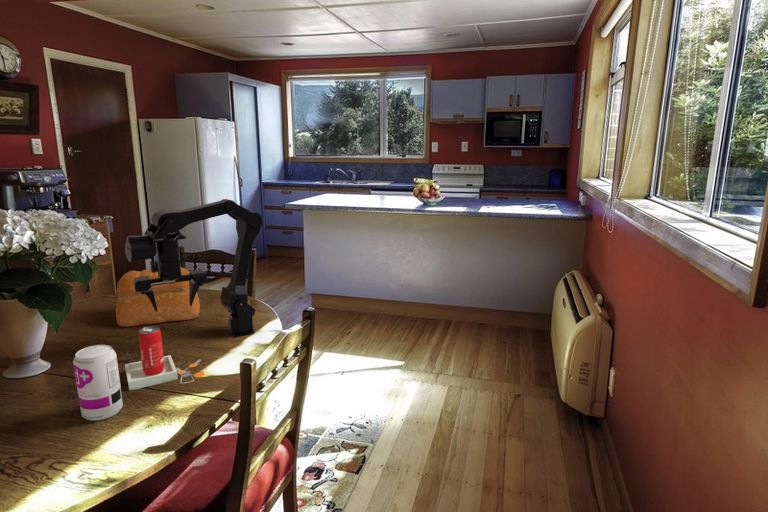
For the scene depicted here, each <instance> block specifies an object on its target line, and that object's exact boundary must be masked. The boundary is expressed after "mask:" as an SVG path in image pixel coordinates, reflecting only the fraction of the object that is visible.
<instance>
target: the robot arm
mask: <svg viewBox="0 0 768 512" xmlns="http://www.w3.org/2000/svg"><path fill="white" fill-rule="evenodd" d="M223 215H228V216H229V217H230V218H231V219H233V220H234V221H235V229H236V234H237V242H236V243H237V244H236V248H235V249H236V250H235V255H234V260H233V263H232V264H233V265H232V270H231V276H230V282H229V283H228V285H227V286H222V287H221V295H220V297H219V300H221V302H220V303H221V305H222V307H224V308H225V309H227V312H228V313H230V314H229V316H230V318H229V319H228V329H229V332H230V334H232V335H233V337H235V338H236V337H241V336H246V335H251V334H255V333H256V331H255V330H254V325H253V324H254V323H253V320H254V319H253V317H254V316H255V312H256V309H255V308H254V307H253V306H252V305H250V304H249V299H248V298H249V295H248V289H247V279H248V273H249V268H250V262H251V258H252V252H253V248H254V242H255V240H256V239H257V237H258V236H259V234H260V232H261V230H262V227H263V225H264V219H263V217H262V215H261V214H260V213H259V212H256V211H251V210H249V209H246V208H245V207H243V206H241V205H239V204H238V203H237V202H235V201H234V200H232V199H227V198H223V199H220V200H219V201H218V200H217V201H214V202H209V203H205V204H201V205H198V206H194V207H189V208H185V209H163V210H162V209H161V210H158V211H155V212H154V213H153V214H152V217H151V219H150V220H151V222H150V224H149V225H148V227H147V228H146V229H145V231H144V233H143V234H141V235H127V236H126V240H125V245H124V253H125V257H126V259H127V260H128V262H129V263H133V262H137V261H145V260H151V259H153V258H154V257H156V255H157V260H154V261H153V260H152V261H149V266H150V269H151V273H155V272H158V276H159V277H160V278H154V279H150V278H149V276H142V277H135V278H134V279H133V283H134V288H135V291H136V292H141V294H146V295H147V297H148V298H149V300H150V301H151V303H152V305H153V307H154V309H155V311H156V312H157V305H156V301H155V297H154V293H153V290H152V288H151V286H153V285H161V284H168V283H176V282H183V281H189V304H190V306H192V304H193V301H194V298H195V295H196V293H197V294H198V290H199V289H200V287H202V286H204V284H205V283H208V274H207V272H205V270H203V269H202V268H201V269H200V268H199V269H191V270H188V271H189V274H186V275H181V267H182V266H181V265H182V264H181V255H180V245H179V244H180V243H179V241H180V240H186V239H187V236H186V235H185V234H182V232H181V231H180V230H183V229H184V228H185V227H187V226H188V225H190V224H194V223H197V222H200V221H205V220H208V219H212V218H216V217H220V216H223ZM173 279H175V280H173ZM164 280H167V281H164Z"/></svg>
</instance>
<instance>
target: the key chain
mask: <svg viewBox="0 0 768 512" xmlns="http://www.w3.org/2000/svg"><path fill="white" fill-rule="evenodd" d="M200 362H202V359H200V358H199V359H198V360H196V361H195V362H194V363H191V364H189V367H187V368H185V369H181V368H180V367H175V368H176V370H177V375H180V378H179V379H180V381H179V383H180V384H181V385H183V384H191V383H193V382H194V381H195V379H194V378H200V377H203V376H205V374H206V373H205V372H203V371H202V372H201V371H199V372H195V373H191V371H190V370H188V369H190V368H195V367H197V366H198V365H199V363H200ZM186 377H191V379H192V380H189V381H186V382H182V381H183V378H186ZM193 377H194V378H193Z"/></svg>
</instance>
